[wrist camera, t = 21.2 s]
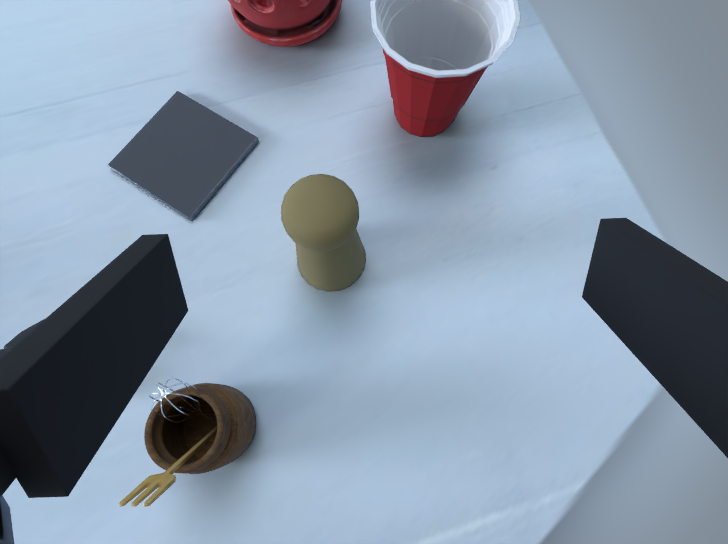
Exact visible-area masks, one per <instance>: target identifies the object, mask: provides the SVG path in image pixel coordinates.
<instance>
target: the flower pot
mask: <svg viewBox="0 0 728 544" xmlns="http://www.w3.org/2000/svg"><path fill="white" fill-rule="evenodd" d="M228 1H229V2H230V3H231V9H232V13H233V16H234V18H235V20H236V22H237V23H238V25H239V26H240V27H241V28H242V29H243V30H244V32H246V33H247V34H248V35H249V36H251V37H252V38H254V39H256V40H258V41H260V42H262V43H265V44H268V45H272V46H280V47H290V46H297V45H301V44H304V43H307V42H310V41H312V40H314V39H316V38H317V37H319V36H320V35H322V34H323V33H324V32H325V31H327V30H328V29H329V27H330V26H331V25H332V24H333V23H334V21H335V19H336V18H337V16H338V13H339V11H340V8H341V3H342V0H228Z"/></svg>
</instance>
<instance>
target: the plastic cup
mask: <svg viewBox="0 0 728 544" xmlns="http://www.w3.org/2000/svg"><path fill="white" fill-rule="evenodd" d="M370 7H371V21H372V29H373V31H374V33H375V35H376V37H377V38H378V40H379V42H380V43H381V45H382V47H383V53H384V55H385V59H386V65H387V71H388V78H389V84H390V91H391V97H392V98H393V104H394V112H395V116H396V119H397V120H398V122H399V124H400V125H401V127H402V128H403V129H405V130H406V131H407V132H409V133H410V134H413V135H417V136H420V137H428V136H435V135H437V134H439V133H442V132H443V131H444V130H445V129H446V128H447V127H448V126H449V125H450V124H451V123H452V122H453V121H454V119H455V117H456V115H457V114H458V112H459V110H460V108H461V107H462V106H463V105H464V104H465V102H466V101H467V99H468V97H469V96H470V94H471V92H472V91H473V89H474V87H475V86H476V84H477V83H478V81H479V79H480V78H481V76H482V74H483V73H484V71H485V69H486V68H487V67H488V66H490V65H492V64H493V62H494V61H495V60H496V59H497V58H498V57H499V56H500V55H501V54H502V53H503V52H504V51H505V50H506V49H507V48H508V47H509V46H510V44H511V43H512V42H513V40H514V36H515V33H516V30H517V27H518V24H519V21H520V13H519V7H518V1H517V0H371V2H370Z"/></svg>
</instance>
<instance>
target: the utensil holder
mask: <svg viewBox="0 0 728 544" xmlns="http://www.w3.org/2000/svg"><path fill="white" fill-rule="evenodd" d="M171 378H175V377H171ZM171 378H169V379H171ZM169 379H168V380H169ZM175 379H177V378H175ZM168 380H167V382H168ZM177 380H179V379H177ZM179 381H181V380H179ZM167 382H166V383H167ZM181 382H182V381H181ZM158 383H159V382H158ZM158 383H157V386H158ZM166 383H165V385H166ZM159 384H161V383H159ZM179 384H184V383H183V382H182V383H179ZM185 384H188V383H185ZM185 384H184V385H185ZM161 385H163V384H161ZM165 385H163V386H164V387H167V386H165ZM176 385H178V384H176ZM188 385H190V384H188ZM173 386H175V385H173ZM173 386H171V387H173ZM185 386H186V385H185ZM171 387H170V388H171ZM158 388H159V386H158ZM167 388H168V387H167ZM170 388H168V389H170ZM168 389H167V390H168ZM159 390H160V388H159ZM167 390H165V391H167ZM170 390H171V389H170ZM160 391H161V390H160ZM163 391H164V388H163ZM163 391H161V393H152V394H160V395H161V394H162V395H164V394H168V395H167V396H165V395H164V398H162V395H161V400H160V401H159V402H158V403H157V404H156V406H155V407H154V408H153V410H152V406H153V404H152V406H151V410H152V411H151V413H150V415H149V417H148V420H147V423H146V427H145V445H146V449H147V451H148V454H149V455H150V457H151V459H152V460H153V461H154V462H155V463H156V464H157V465H158V466H159V467H161V468H163V469H164V470H167V471H165V472H164V473H161V474H156V475H151V476H149V477H148V478H146V479H145V480H144V481H143V482H142V483H141V484H140V485H138V486H137V487H136V488H135V489H134V490H133V491H132V492H131V493H130V494H128V495H127V496H126V497H125V498H124V499H123V500H122V501H121V502H120V503H119V506H124V505H126V504H127V503H128V502H129V501H131V500H132V499H133V498H134V497H135V496H137V495H138V494H139V493H140V492H142V491H143V490H144V489H145V488H147V487H148V488H147V489H146V490H145V491H144V492H143V493H142V494H141V495H139V496H138V497H137V498H136V499H135V500H134V501H133V502H132V503H131V505H132V506H137V505H138V504H139V503H140V502H142V501H143V500H144V499H145V498H146V497H147V496H149V495H150V494H151V493H152V492H153V491H154V490H155V489H157V488H158V487H159V488H158V489H157V490H156V491H155V492H154V493H153V494H152V495H151V496H150V498H149V499H148V500H147V501H146V502H145V503H144V506H150V505H151V504H152V503H153V502H154V501H155V500H156V499H157V498H158V497H159V496H160V495H162V494H163V493H164V492H165V491H166V490H167V489H168V488H169V487H170V486H171V485H172V484H173V483H174V482H175V478H176V477H175V476H174V475H172V474H173V473H189V474H200V473H206V472H209V471H212V470H215V469H218V468H220V467H222V466H225V465H227V464H229V463H230V462H232V461H234V460H235V459H237V458H238V457H239V456H240V455H241V454H242V453H243V452H244V451H245V450H246V449H247V447H248V446H249V444H250V443H251V441H252V438H253V436H254V432H255V427H256V417H255V411H254V408H253V406H252V404H251V402H250V400H249V399H248V398H247V397H246V396H245V395H244V394H243V393H242V392H240V391H239V390H237V389H235V388H233V387H230V386H226V385H220V384H211V383H202V384H195V385H190V386H189V387H187V386H186V388H182V389H179V390H176V391H173V390H171V391H173V392H172V393H164V392H165V391H164V392H163ZM150 395H151V394H150ZM150 395H149V397H151V396H150ZM160 395H159V396H160ZM159 396H158V397H159ZM158 397H157V398H158ZM151 398H152V397H151ZM157 398H156V399H157ZM152 399H154V398H152ZM156 399H154V402H155V400H156ZM156 401H158V400H156ZM154 402H153V403H154Z"/></svg>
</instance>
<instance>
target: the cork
mask: <svg viewBox="0 0 728 544" xmlns="http://www.w3.org/2000/svg"><path fill="white" fill-rule="evenodd" d="M281 220H282V222H283V225H284V228H285V230H286V232H287V234H288V235H289V236H290V237H291V238H292V240H293V241H294V242H295V243H296V252H297V263H298V268H299V271H300V273H301V276H302V277H303V278H304V279H305V280H306V281H307V283H308V284H310V285H312V286H313V287H315V288H317V289H320V290H324V291H339V290H342V289H344V288H346V287H349V286H350V285H352V284H353V283H354V282H355V281H356V280H358V278H359V277H360V275H361V273H362V272H363V270H364V266H365V262H366V258H365V250H364V247H363V245H362V242H361V240H360V237H359V235H358V233H357V230H356V227H357V223H358V220H359V207H358V201H357V199H356V197H355V195H354V193H353V191H352V190H351V189H350V188H349V186H348V185H347V184H346V183H345V182H344V181H342V180H340V179H338V178H336V177H334V176H330V175H325V174H318V175H310V176H307V177H305V178H302V179H300V180H299V181H297V182H296V183H295V184H293V185H292V186H291V187H290V189H289V190H288V191H287V193H286V194H285V196H284V199H283V202H282V206H281Z"/></svg>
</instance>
